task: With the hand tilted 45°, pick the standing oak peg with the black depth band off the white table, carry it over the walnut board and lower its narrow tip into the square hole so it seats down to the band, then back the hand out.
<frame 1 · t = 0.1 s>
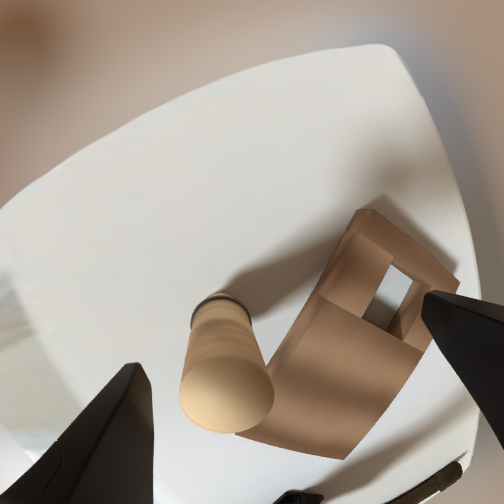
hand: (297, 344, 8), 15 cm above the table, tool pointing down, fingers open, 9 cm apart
walnut board: (349, 348, 25), on the table
hand tool: (415, 485, 32), on the table
oak peg: (220, 311, 23), on the table
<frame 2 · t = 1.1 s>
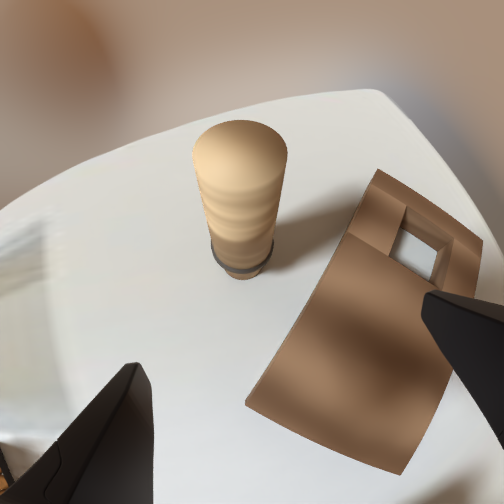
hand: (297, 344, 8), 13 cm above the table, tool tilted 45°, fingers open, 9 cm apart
ammunition clip: (13, 486, 13), on the table
walnut board: (386, 318, 21), on the table
oak peg: (242, 260, 23), on the table
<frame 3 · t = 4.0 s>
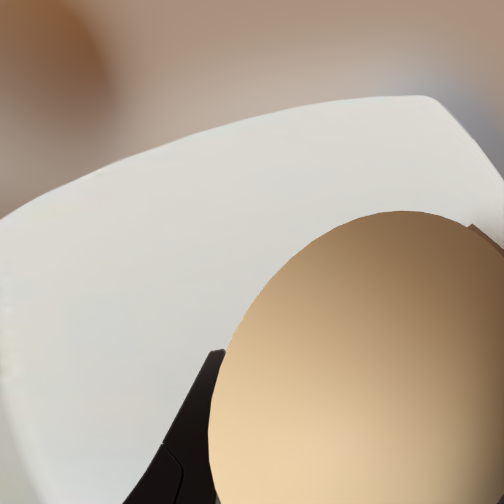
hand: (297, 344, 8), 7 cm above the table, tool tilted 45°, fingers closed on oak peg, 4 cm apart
oak peg: (281, 383, 13), on the table, touching gripper
when the fingers open (7 cm above the table, at t = 8.7 s): oak peg stays where it is, resting in walnut board.
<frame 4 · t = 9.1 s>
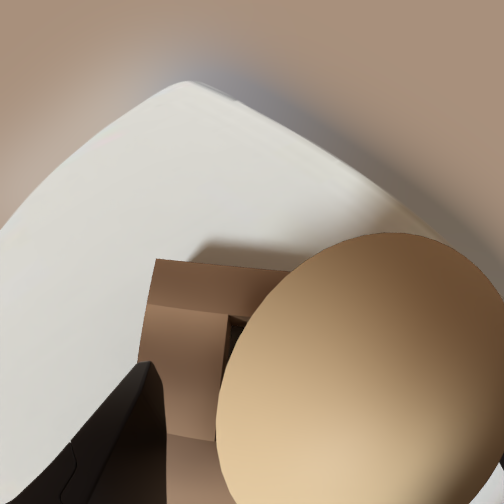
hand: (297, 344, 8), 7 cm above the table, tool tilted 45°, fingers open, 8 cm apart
walnut board: (269, 485, 11), on the table
oak peg: (281, 383, 14), resting in walnut board
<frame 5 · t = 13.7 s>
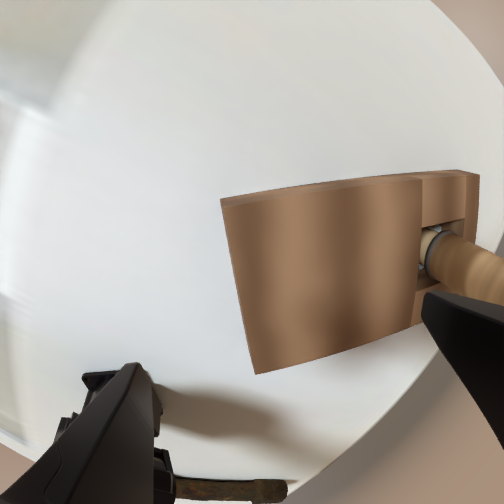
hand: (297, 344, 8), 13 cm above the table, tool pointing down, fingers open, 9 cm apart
walnut board: (368, 256, 22), on the table
hand tool: (228, 478, 33), on the table
oak peg: (420, 243, 23), resting in walnut board
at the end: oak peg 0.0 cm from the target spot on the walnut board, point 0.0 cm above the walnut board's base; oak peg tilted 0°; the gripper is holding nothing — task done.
